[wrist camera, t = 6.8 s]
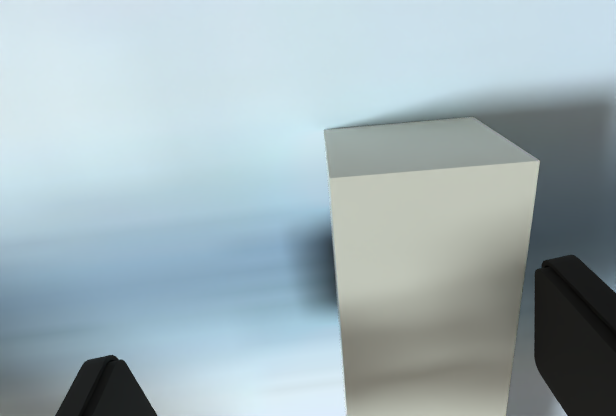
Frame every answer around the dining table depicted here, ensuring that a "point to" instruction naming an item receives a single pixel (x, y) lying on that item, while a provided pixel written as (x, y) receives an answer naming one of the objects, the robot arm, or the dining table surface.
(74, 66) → the dining table surface
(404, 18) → the dining table surface
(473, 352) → the clay strip
